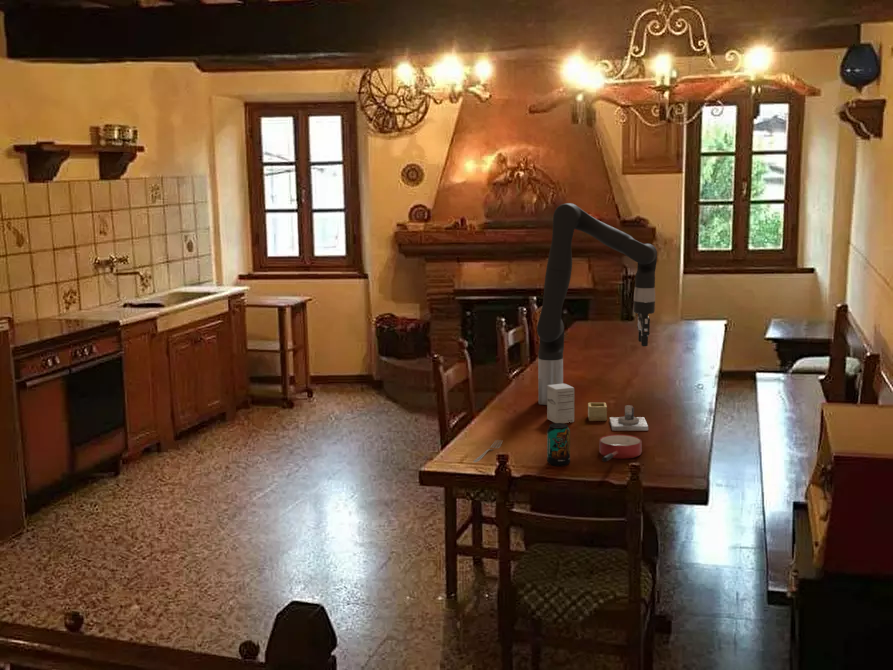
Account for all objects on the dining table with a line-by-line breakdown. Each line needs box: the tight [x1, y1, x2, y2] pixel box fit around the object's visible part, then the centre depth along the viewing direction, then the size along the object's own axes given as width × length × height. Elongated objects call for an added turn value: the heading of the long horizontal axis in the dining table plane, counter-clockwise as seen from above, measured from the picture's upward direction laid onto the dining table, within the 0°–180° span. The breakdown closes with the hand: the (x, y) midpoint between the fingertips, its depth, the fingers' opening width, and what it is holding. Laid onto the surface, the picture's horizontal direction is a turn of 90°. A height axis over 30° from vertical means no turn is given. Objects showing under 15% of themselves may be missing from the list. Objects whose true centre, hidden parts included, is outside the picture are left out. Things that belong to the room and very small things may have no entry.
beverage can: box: [546, 422, 571, 467], centre depth 311 cm, size 7×7×12 cm
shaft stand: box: [609, 404, 649, 432], centre depth 352 cm, size 12×12×7 cm
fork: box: [472, 439, 504, 463], centre depth 324 cm, size 3×24×2 cm, turn 156°
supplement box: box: [546, 382, 575, 424], centre depth 360 cm, size 7×7×13 cm
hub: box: [587, 402, 608, 422], centre depth 363 cm, size 6×6×5 cm
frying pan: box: [599, 433, 643, 463], centre depth 312 cm, size 32×13×6 cm, turn 166°
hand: (642, 343), depth 372 cm, fingers open, 8 cm apart
